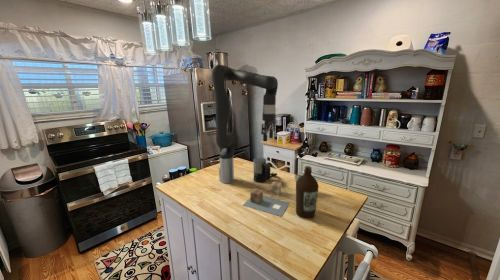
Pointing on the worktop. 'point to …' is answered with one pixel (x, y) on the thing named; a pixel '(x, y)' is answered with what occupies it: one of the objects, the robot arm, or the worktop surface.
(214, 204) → the worktop surface
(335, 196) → the worktop surface
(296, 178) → the food container
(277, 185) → the maple block
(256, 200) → the walnut block
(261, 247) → the worktop surface
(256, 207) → the mat
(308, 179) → the olive oil
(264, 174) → the milk frother
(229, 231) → the worktop surface
